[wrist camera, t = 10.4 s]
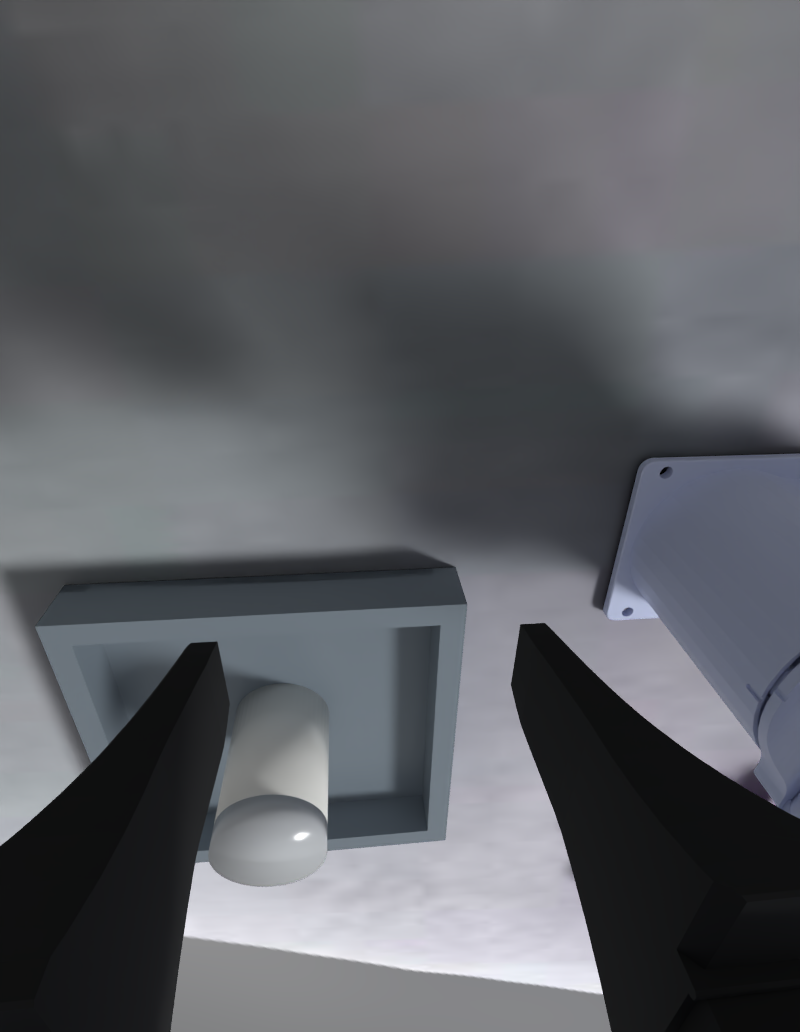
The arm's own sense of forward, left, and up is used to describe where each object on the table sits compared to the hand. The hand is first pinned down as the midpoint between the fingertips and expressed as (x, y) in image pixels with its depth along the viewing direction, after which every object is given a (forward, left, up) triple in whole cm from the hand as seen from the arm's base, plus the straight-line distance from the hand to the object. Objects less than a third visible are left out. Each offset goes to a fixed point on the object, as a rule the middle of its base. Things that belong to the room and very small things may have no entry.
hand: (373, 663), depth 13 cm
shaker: (+4, +12, -9) cm, 15 cm away
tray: (+4, +12, -9) cm, 16 cm away
